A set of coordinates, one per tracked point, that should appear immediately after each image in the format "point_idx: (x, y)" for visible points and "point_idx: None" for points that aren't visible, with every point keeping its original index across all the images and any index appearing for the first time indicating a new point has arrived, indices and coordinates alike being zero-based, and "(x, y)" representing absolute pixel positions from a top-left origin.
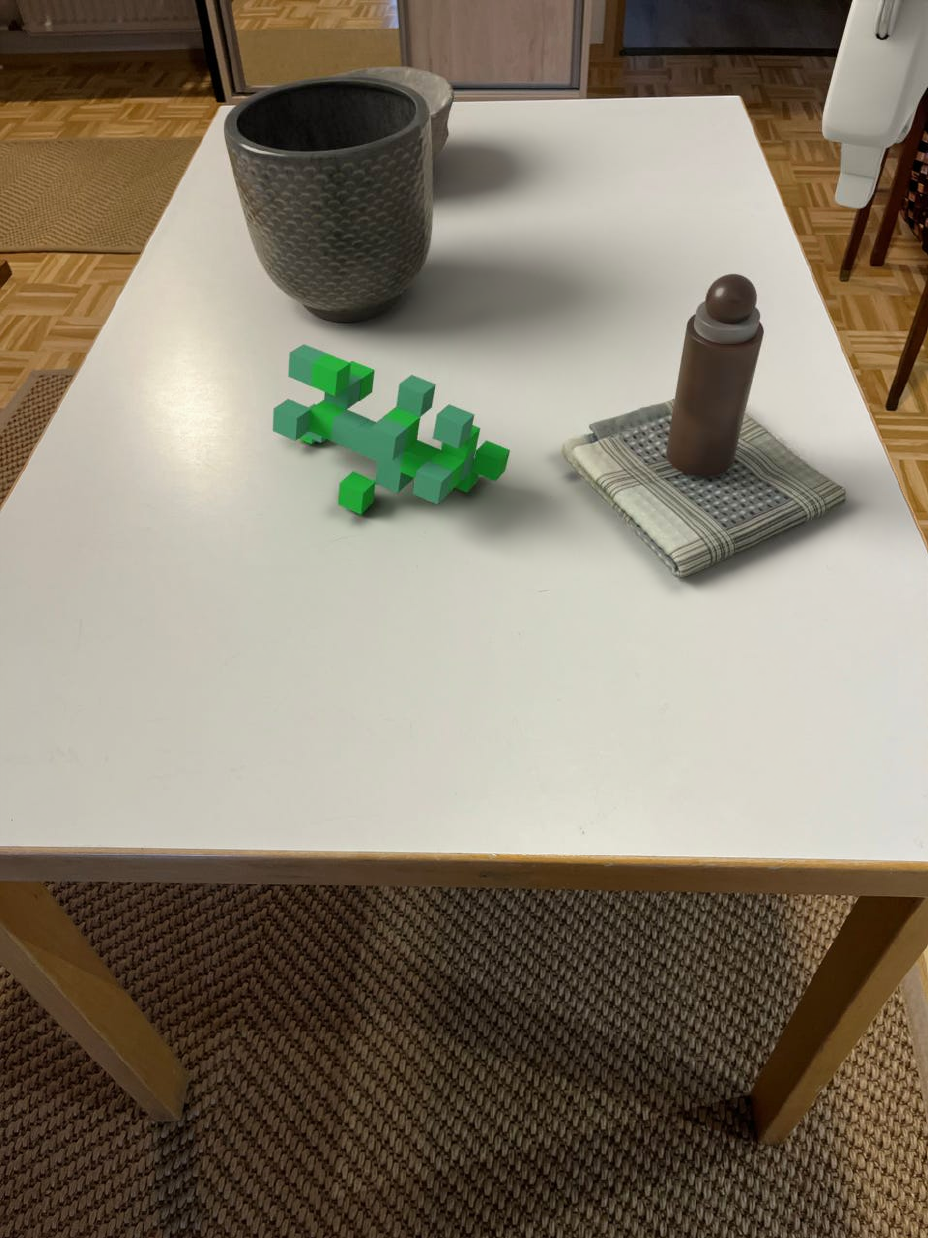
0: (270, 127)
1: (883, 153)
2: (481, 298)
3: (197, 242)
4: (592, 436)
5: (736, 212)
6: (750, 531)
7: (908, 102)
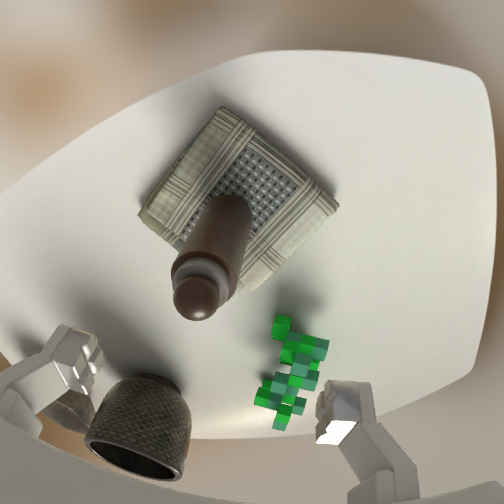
0: (135, 460)
1: (395, 458)
2: (122, 343)
3: None
4: None
5: None
6: (292, 169)
7: None
